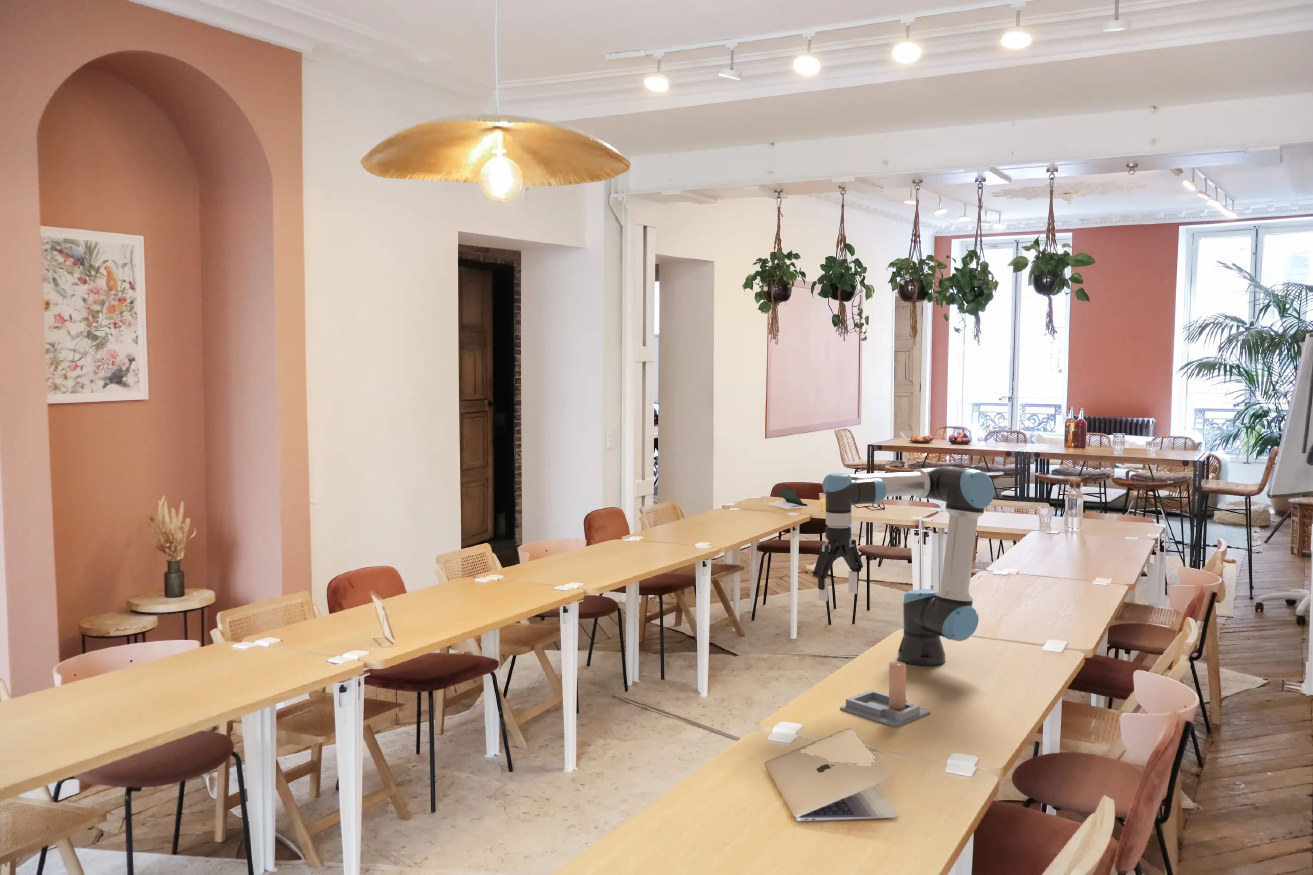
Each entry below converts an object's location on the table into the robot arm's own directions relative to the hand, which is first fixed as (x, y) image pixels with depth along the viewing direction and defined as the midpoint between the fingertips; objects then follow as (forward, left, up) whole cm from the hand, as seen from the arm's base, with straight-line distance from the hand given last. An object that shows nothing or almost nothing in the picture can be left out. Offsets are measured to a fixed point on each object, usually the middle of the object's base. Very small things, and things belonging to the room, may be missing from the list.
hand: (838, 596), depth 291 cm
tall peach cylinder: (+4, +24, -28) cm, 37 cm away
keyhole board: (+4, +20, -29) cm, 35 cm away
